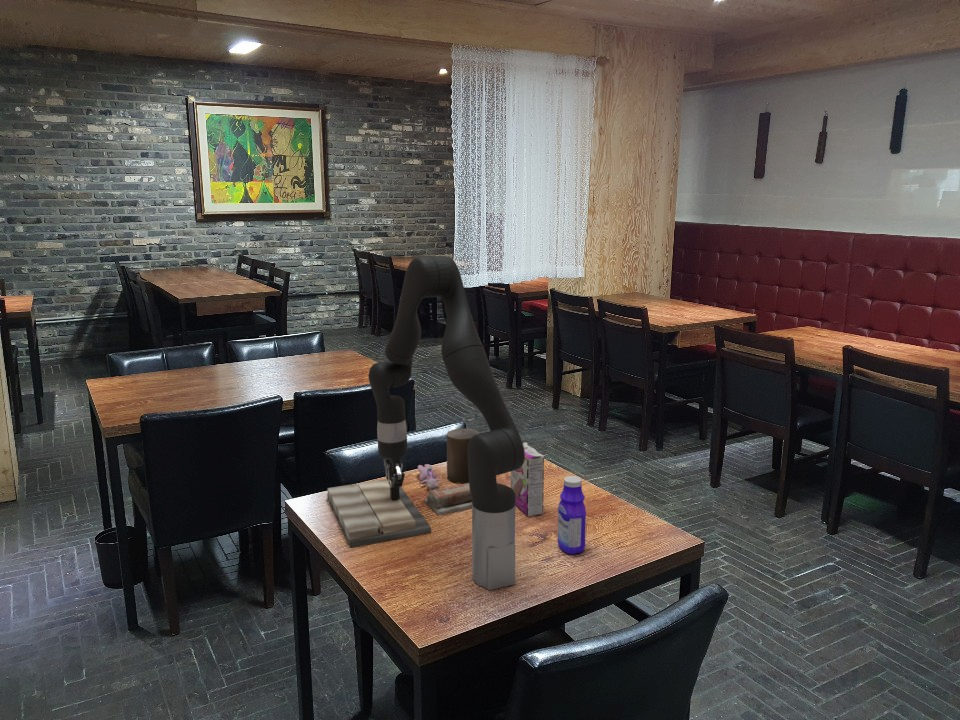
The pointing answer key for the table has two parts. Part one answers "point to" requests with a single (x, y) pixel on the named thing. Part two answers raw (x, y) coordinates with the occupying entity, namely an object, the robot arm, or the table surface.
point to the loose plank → (386, 507)
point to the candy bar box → (529, 482)
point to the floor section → (368, 517)
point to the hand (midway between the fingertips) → (394, 499)
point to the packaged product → (450, 499)
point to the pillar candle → (458, 454)
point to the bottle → (572, 516)
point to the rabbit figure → (428, 477)
